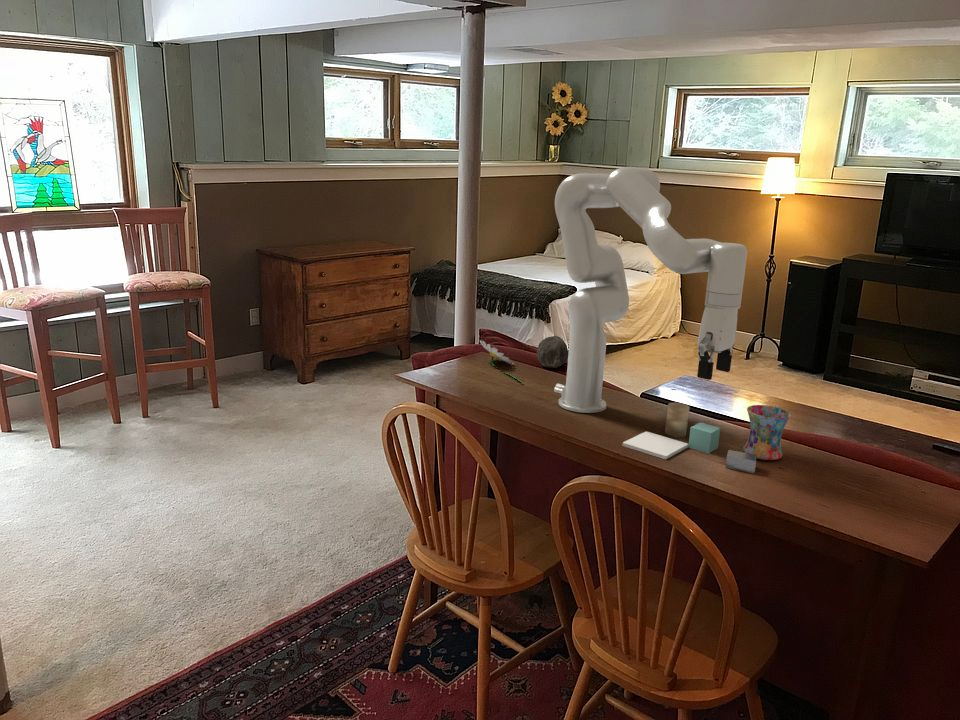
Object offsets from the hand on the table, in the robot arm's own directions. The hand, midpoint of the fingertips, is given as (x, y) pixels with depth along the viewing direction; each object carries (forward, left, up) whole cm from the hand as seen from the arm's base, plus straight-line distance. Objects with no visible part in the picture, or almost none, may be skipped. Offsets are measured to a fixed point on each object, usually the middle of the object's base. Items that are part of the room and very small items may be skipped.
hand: (713, 374), depth 171 cm
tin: (+11, -5, -18) cm, 21 cm away
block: (0, 0, -18) cm, 18 cm away
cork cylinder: (-9, +4, -18) cm, 20 cm away
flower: (-72, +14, -18) cm, 75 cm away
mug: (+12, +7, -18) cm, 23 cm away
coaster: (-8, -8, -18) cm, 21 cm away
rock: (-65, +31, -18) cm, 75 cm away
